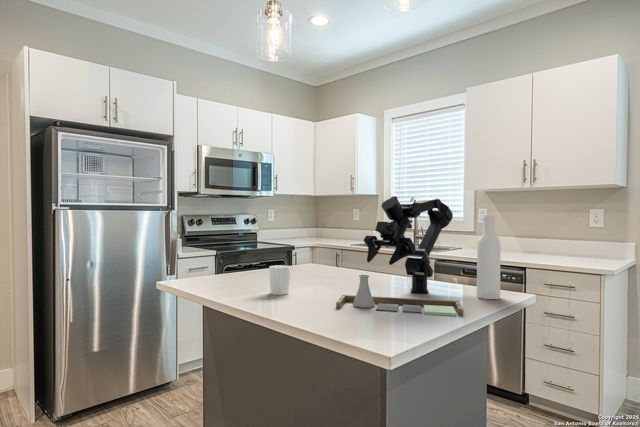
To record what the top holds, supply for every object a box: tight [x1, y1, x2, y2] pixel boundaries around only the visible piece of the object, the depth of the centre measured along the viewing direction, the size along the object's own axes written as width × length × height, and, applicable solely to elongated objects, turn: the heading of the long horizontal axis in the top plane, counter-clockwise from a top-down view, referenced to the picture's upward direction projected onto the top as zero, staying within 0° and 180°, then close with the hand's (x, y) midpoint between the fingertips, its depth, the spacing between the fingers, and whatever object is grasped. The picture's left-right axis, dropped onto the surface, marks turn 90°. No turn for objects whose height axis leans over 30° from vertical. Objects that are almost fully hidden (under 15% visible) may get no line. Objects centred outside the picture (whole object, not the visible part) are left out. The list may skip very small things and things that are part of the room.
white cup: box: [268, 264, 291, 296], centre depth 154 cm, size 8×8×10 cm
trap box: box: [335, 294, 464, 317], centre depth 132 cm, size 12×38×2 cm, turn 77°
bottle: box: [476, 213, 501, 300], centre depth 148 cm, size 8×8×30 cm
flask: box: [352, 274, 376, 309], centre depth 134 cm, size 7×7×10 cm
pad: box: [423, 305, 457, 317], centre depth 127 cm, size 9×9×1 cm
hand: (378, 262), depth 140 cm, fingers open, 9 cm apart
